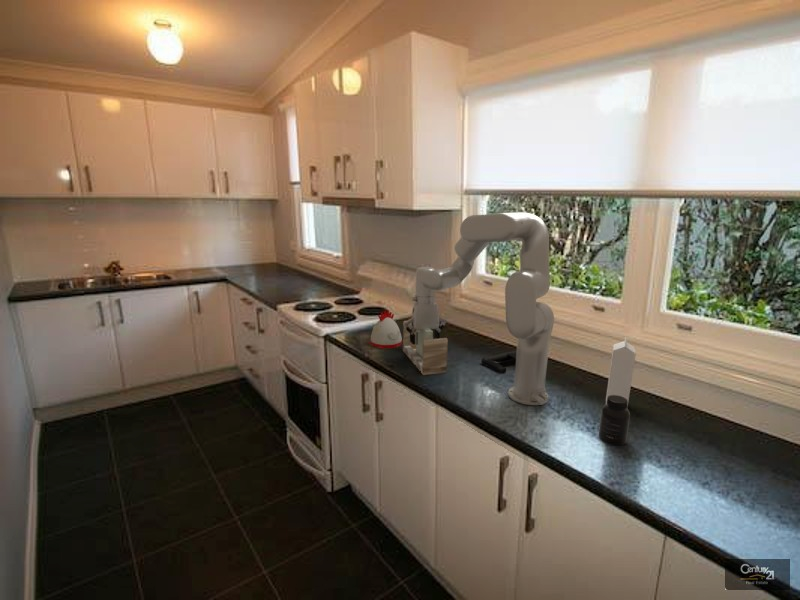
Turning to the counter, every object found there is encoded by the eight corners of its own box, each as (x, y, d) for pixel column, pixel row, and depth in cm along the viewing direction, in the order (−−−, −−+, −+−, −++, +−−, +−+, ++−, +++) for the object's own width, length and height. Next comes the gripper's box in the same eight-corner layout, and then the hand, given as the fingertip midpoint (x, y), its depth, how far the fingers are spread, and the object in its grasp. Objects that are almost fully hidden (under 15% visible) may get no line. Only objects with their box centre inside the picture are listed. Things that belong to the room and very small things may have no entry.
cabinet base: (446, 372, 157) (447, 339, 154) (423, 374, 154) (424, 341, 151) (423, 348, 181) (424, 319, 178) (403, 350, 179) (403, 320, 176)
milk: (605, 407, 132) (614, 340, 127) (605, 399, 138) (614, 334, 133) (627, 411, 130) (637, 343, 125) (626, 403, 135) (636, 337, 130)
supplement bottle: (601, 430, 119) (607, 390, 116) (628, 438, 115) (635, 398, 112) (594, 440, 114) (600, 399, 111) (622, 449, 110) (629, 407, 107)
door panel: (431, 363, 162) (432, 331, 159) (424, 364, 161) (425, 332, 158) (421, 353, 173) (422, 322, 170) (414, 353, 172) (415, 323, 169)
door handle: (546, 362, 162) (515, 347, 175) (507, 372, 152) (478, 355, 166) (545, 370, 163) (514, 354, 176) (506, 381, 153) (477, 363, 167)
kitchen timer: (364, 342, 188) (364, 309, 185) (388, 336, 197) (388, 304, 194) (383, 350, 178) (383, 316, 175) (408, 344, 187) (408, 311, 183)
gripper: (406, 303, 156) (406, 347, 160) (450, 300, 161) (448, 343, 164) (400, 298, 163) (400, 341, 167) (442, 296, 168) (441, 337, 171)
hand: (424, 342), depth 166 cm, fingers open, 9 cm apart
